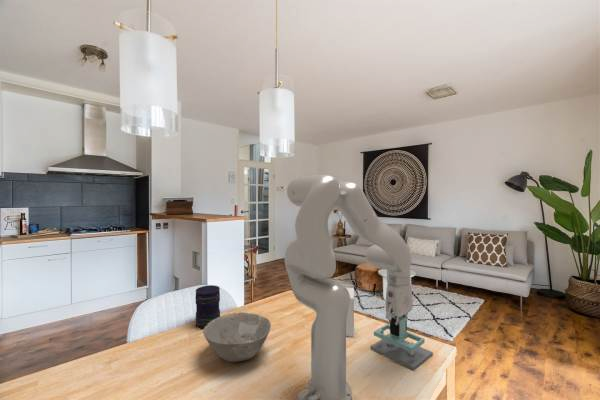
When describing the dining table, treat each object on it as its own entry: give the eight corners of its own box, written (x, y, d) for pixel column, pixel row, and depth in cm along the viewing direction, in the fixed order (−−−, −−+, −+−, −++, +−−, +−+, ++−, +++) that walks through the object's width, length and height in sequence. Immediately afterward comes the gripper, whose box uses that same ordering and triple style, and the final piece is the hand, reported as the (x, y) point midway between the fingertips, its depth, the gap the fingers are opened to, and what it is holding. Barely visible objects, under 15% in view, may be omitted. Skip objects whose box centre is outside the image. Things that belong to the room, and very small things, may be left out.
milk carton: (353, 337, 106) (353, 288, 106) (335, 335, 108) (335, 286, 107) (353, 328, 113) (353, 282, 113) (336, 326, 115) (336, 281, 114)
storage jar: (224, 319, 122) (223, 285, 121) (213, 330, 112) (213, 293, 112) (202, 318, 123) (202, 284, 123) (190, 328, 113) (190, 292, 113)
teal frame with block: (411, 352, 87) (411, 329, 87) (373, 335, 98) (373, 314, 97) (424, 342, 92) (424, 320, 92) (387, 327, 103) (387, 307, 103)
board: (413, 370, 86) (413, 358, 86) (370, 348, 98) (370, 338, 98) (432, 355, 94) (432, 344, 94) (390, 336, 106) (390, 327, 106)
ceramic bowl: (246, 385, 80) (246, 350, 80) (188, 364, 89) (187, 334, 89) (283, 346, 100) (283, 319, 100) (232, 333, 109) (231, 308, 109)
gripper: (395, 287, 86) (395, 345, 87) (420, 277, 97) (420, 328, 97) (374, 282, 92) (374, 336, 92) (401, 272, 103) (401, 321, 103)
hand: (398, 331), depth 95 cm, fingers closed on teal frame with block, 4 cm apart
